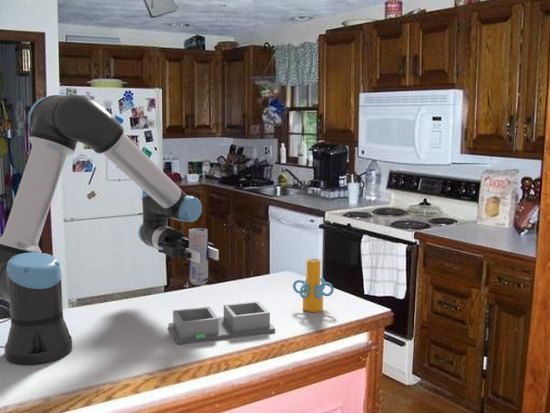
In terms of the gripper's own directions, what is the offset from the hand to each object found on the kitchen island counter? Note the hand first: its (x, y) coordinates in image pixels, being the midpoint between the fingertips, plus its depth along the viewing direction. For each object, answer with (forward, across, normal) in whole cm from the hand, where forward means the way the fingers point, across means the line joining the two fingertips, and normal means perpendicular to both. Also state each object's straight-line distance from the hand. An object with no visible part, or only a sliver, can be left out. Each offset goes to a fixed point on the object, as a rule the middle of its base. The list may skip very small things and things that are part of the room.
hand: (208, 256), depth 153 cm
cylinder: (+4, -33, -20) cm, 38 cm away
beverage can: (-5, 0, -9) cm, 10 cm away
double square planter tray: (+3, -2, -20) cm, 20 cm away
